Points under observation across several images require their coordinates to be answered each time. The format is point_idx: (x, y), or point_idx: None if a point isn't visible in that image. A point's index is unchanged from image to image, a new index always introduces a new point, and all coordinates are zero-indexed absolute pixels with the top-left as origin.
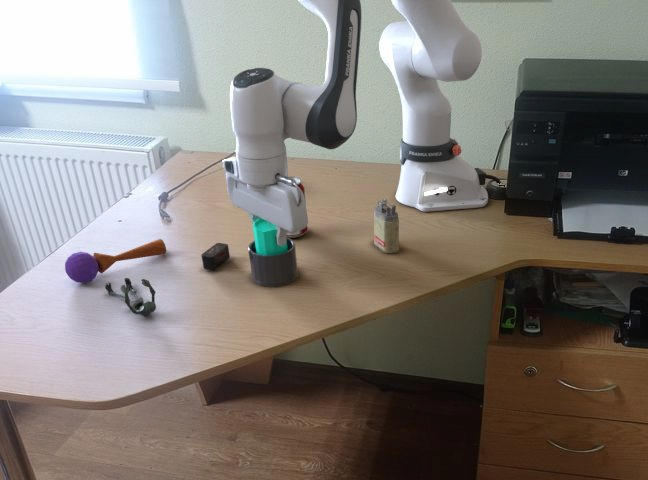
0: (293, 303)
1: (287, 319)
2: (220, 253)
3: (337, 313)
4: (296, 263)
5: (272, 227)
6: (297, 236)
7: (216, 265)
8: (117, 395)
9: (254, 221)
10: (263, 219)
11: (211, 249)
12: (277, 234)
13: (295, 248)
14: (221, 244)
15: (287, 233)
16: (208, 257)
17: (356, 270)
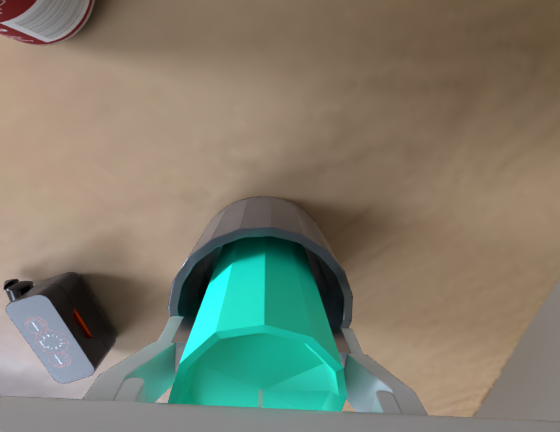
0: (399, 317)
1: (429, 363)
2: (78, 331)
3: (513, 287)
4: (319, 231)
5: (292, 392)
6: (92, 3)
7: (109, 337)
8: None
9: (152, 401)
10: (185, 382)
11: (41, 346)
12: (359, 408)
13: (326, 246)
14: (26, 306)
15: (62, 32)
16: (87, 376)
17: (441, 77)
